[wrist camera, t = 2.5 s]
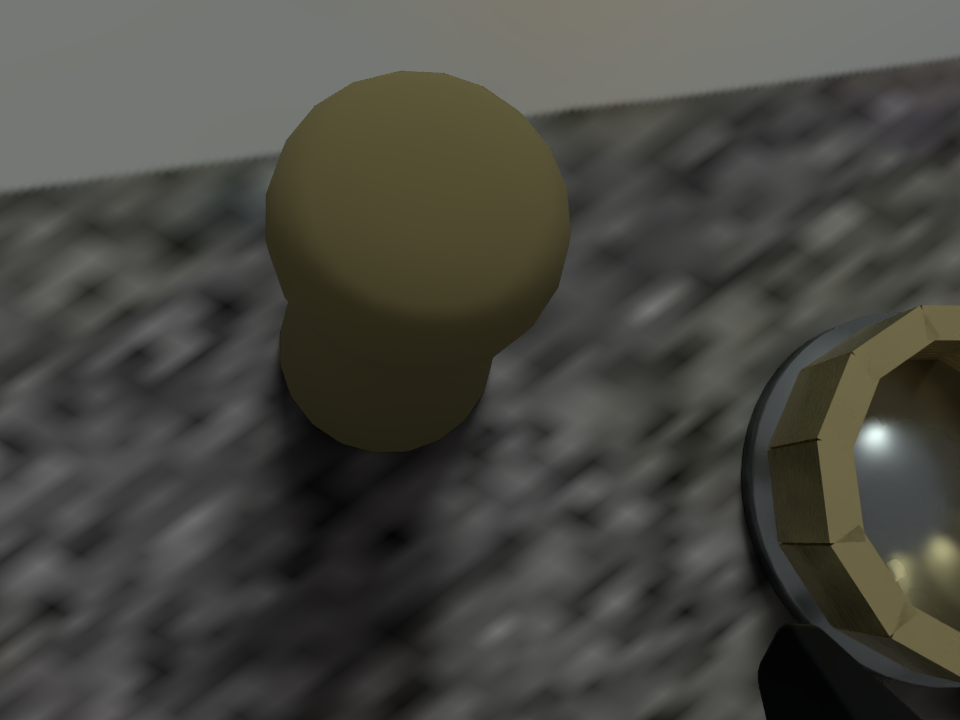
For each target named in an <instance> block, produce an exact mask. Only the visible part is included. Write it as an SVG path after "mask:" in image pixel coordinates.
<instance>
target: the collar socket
mask: <svg viewBox="0 0 960 720" xmlns="http://www.w3.org/2000/svg"><path fill="white" fill-rule="evenodd" d="M742 494H743V503H744V509H745V515H746V521H747V525H748V528H749V532H750V535H751V539H752V542H753V546H754V549H755V551H756V553H757V556H758V558H759V561H760V563H761V565H762V568H763V570H764V572H765V574H766V576H767V577H768V579H769V581H770V583H771V585H772V586H773V588H774V590H775V592H776V593H777V595H778V596H779V598H780V599H781V600H782V602H783V603H784V604H785V606H786V607H787V609H788V610H789V611H790V613H791V614H792V615H793V616H794V617H795V618H796V619H797V620H798V622H799V623H800V624H812V625H816V626H818V627H819V628H821V629H822V630H824V631H825V632H826V633H827V634H828V635H829V636H830V637H831V638H832V639H834V640H835V641H836V642H837V643H838V644H839V645H840V646H841V647H842V648H844V649H845V650H846V651H847V652H848V653H849V654H850V655H851V656H852V657H853V658H855V659H856V660H857V661H858V662H859V663H860V664H861V665H862V666H863V667H865V668H866V669H867V670H868V671H869V672H872V673H875V674H878V675H881V676H885V677H888V678H891V679H895V680H899V681H902V682H906V683H910V684H916V685H922V686H929V687H960V306H951V305H921V306H918V307H915V308H913V309H910V310H908V311H905V312H903V313H902V312H898V313H882V314H876V315H871V316H866V317H861V318H858V319H855V320H853V321H850V322H847V323H844V324H842V325H839V326H837V327H835V328H832V329H830V330H827V331H825V332H823V333H822V334H820V335H818V336H816V337H814V338H813V339H811V340H809V341H807V342H806V343H805V344H804V345H802V346H801V347H800V348H798V349H797V350H796V351H795V352H793V353H792V354H791V355H790V356H789V357H788V358H787V359H786V360H785V361H784V362H783V363H782V365H781V366H780V367H779V368H778V369H777V370H776V372H775V373H774V375H773V376H772V377H771V379H770V380H769V382H768V383H767V384H766V386H765V388H764V390H763V392H762V394H761V396H760V398H759V400H758V402H757V403H756V406H755V408H754V411H753V414H752V417H751V420H750V423H749V426H748V430H747V435H746V439H745V444H744V449H743V462H742Z"/></svg>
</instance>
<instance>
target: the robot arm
mask: <svg viewBox="0 0 960 720" xmlns="http://www.w3.org/2000/svg"><path fill="white" fill-rule="evenodd" d="M758 684H759V689H760V694H761V698H762V702H763V707H764V711H765V715H766V720H922V719H921V718H920V717H919V716H917V715H916V714H915V713H914V712H913V711H912V710H911V709H910V708H909V707H908V706H906V705H905V704H904V703H903V702H902V701H901V700H900V699H899V698H898V697H897V696H895V695H894V694H893V693H892V692H891V691H890V690H889V689H888V688H887V687H885V686H884V685H883V684H882V683H881V682H880V681H879V680H878V679H877V678H876V677H874V676H873V675H872V674H871V673H870V672H869V671H868V670H867V669H866V668H865V667H863V666H862V665H861V664H860V663H859V662H858V661H857V660H856V659H855V658H853V657H852V656H851V655H850V654H849V653H848V652H847V651H846V650H845V649H844V648H842V647H841V646H840V645H839V644H838V643H837V642H836V641H835V640H834V639H832V638H831V637H830V636H829V635H828V634H827V633H826V632H825V631H824V630H822V629H821V628H819V627H818V626H816V625H812V624H796V623H787V624H784V625H782V626H781V627H780V628H779V629H778V631H777V632H776V634H775V636H774V638H773V640H772V642H771V644H770V645H769V647H768V649H767V651H766V653H765V655H764V657H763V659H762V660H761V662H760V665H759V670H758Z"/></svg>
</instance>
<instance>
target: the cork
mask: <svg viewBox="0 0 960 720" xmlns="http://www.w3.org/2000/svg"><path fill="white" fill-rule="evenodd" d="M569 240H570V220H569V207H568V194H567V188H566V185H565V183H564V180H563V178H562V176H561V173H560V171H559V168H558V166H557V163H556V161H555V159H554V156H553V154H552V151H551V149H550V148H549V146H548V145H547V144H546V143H545V141H544V140H543V139H542V138H541V137H540V135H539V134H538V133H537V132H536V130H535V129H534V128H533V127H532V126H531V124H530V123H529V122H528V121H527V119H526V118H525V117H524V116H523V115H522V114H521V113H520V112H519V111H518V110H517V109H515V108H514V107H512V106H511V105H509V104H508V103H506V102H505V101H504V100H502V99H501V98H499V97H498V96H496V95H495V94H493V93H492V92H491V91H489V90H488V89H486V88H485V87H483V86H480V85H477V84H474V83H471V82H468V81H465V80H462V79H460V78H457V77H453V76H451V75H448V74H445V73H432V72H411V71H399V72H394V73H390V74H386V75H381V76H377V77H373V78H369V79H365V80H361V81H357V82H354V83H351V84H350V85H348V86H347V87H345V88H344V89H342V90H340V91H338V92H337V93H335V94H333V95H332V96H330V97H328V98H327V99H325V100H324V101H322V102H320V103H319V104H317V105H315V106H314V108H313V109H312V110H311V111H310V113H309V114H308V115H307V116H306V117H305V118H304V120H303V121H302V122H301V123H300V124H299V126H298V127H297V128H296V129H295V131H294V132H293V133H292V134H291V135H290V136H289V138H288V139H287V140H286V143H285V145H284V147H283V149H282V152H281V154H280V157H279V160H278V163H277V165H276V168H275V171H274V174H273V176H272V179H271V182H270V185H269V187H268V190H267V193H266V244H267V247H268V251H269V254H270V257H271V260H272V263H273V266H274V268H275V271H276V274H277V277H278V280H279V283H280V286H281V288H282V291H283V294H284V297H285V298H286V300H287V301H288V305H287V309H286V312H285V316H284V320H283V324H282V327H281V331H280V366H281V369H282V372H283V374H284V377H285V380H286V383H287V386H288V389H289V392H290V395H291V397H292V398H293V400H294V401H295V402H296V404H297V405H298V406H299V408H300V409H301V410H302V411H303V413H304V414H305V415H306V417H307V418H308V419H309V421H310V422H311V423H312V424H313V425H315V426H316V427H317V428H319V429H320V430H322V431H323V432H325V433H326V434H328V435H329V436H331V437H332V438H334V439H335V440H337V441H338V442H340V443H342V444H345V445H349V446H352V447H356V448H359V449H363V450H366V451H370V452H373V453H378V452H406V451H411V450H413V449H416V448H419V447H422V446H424V445H427V444H430V443H433V442H435V441H438V440H440V439H442V438H443V437H444V436H445V435H447V434H448V433H449V432H451V431H452V430H453V429H454V428H456V427H457V426H458V425H459V424H461V423H462V422H463V421H465V420H466V418H467V417H468V415H469V414H470V412H471V411H472V409H473V408H474V406H475V405H476V403H477V402H478V400H479V399H480V397H481V396H482V394H483V393H484V389H485V386H486V382H487V378H488V374H489V371H490V367H491V363H492V359H493V357H494V356H496V355H497V354H498V353H499V352H501V351H502V350H503V349H505V348H506V347H507V346H509V345H510V344H511V343H512V342H514V341H515V340H516V339H518V338H519V337H520V336H522V335H523V334H524V333H525V332H526V331H527V330H528V329H530V328H531V327H532V326H533V325H534V323H535V322H536V320H537V319H538V317H539V316H540V314H541V313H542V311H543V310H544V308H545V307H546V305H547V303H548V302H549V300H550V299H551V297H552V296H553V294H554V293H555V291H556V290H557V288H558V286H559V282H560V278H561V274H562V270H563V266H564V262H565V259H566V255H567V251H568V247H569Z"/></svg>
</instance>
